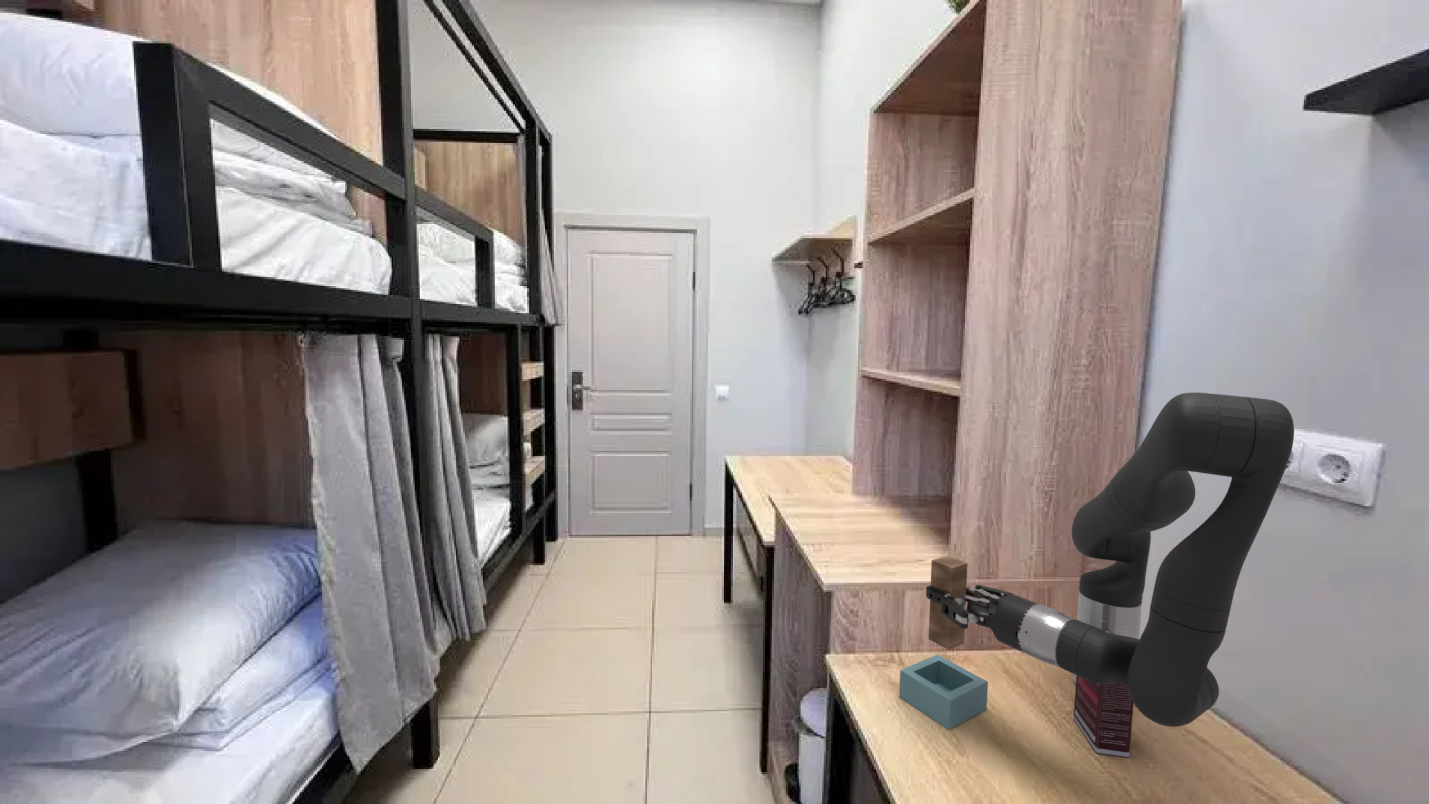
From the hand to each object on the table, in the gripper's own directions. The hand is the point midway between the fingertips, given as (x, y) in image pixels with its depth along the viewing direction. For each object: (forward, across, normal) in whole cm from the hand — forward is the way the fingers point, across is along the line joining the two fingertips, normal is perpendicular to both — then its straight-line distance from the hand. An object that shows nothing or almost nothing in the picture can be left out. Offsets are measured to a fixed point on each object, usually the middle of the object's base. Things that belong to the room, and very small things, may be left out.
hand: (936, 588), depth 97 cm
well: (-2, 0, +20) cm, 20 cm away
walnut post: (-2, 0, +8) cm, 9 cm away
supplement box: (-20, -14, +20) cm, 32 cm away
